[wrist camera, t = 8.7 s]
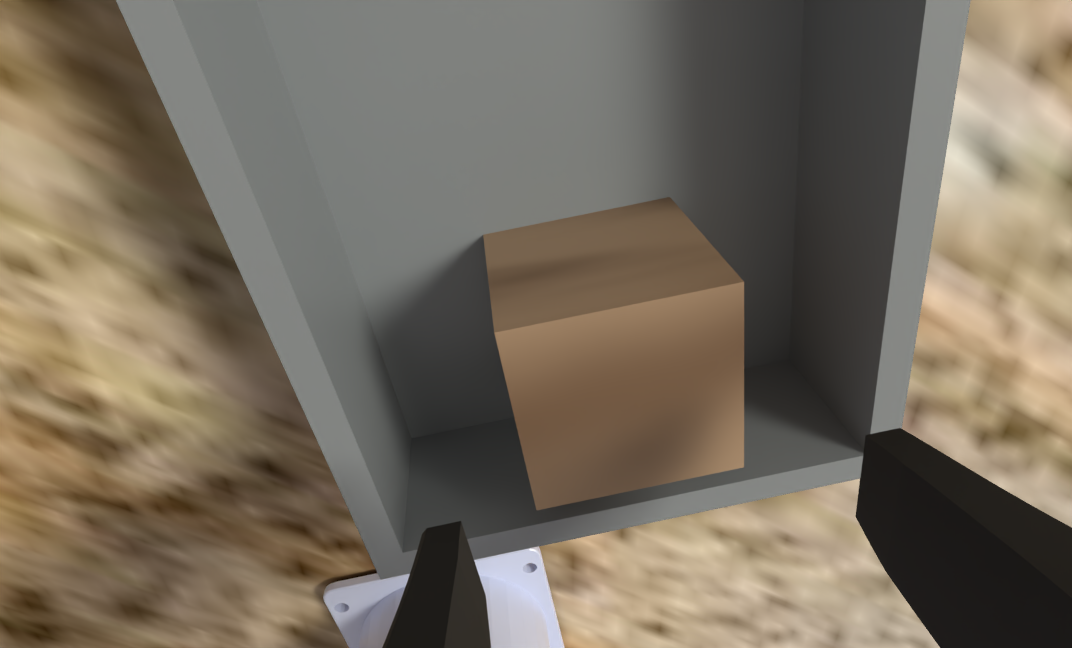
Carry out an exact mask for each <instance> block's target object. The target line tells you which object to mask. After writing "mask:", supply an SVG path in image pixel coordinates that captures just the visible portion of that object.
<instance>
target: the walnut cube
mask: <svg viewBox="0 0 1072 648" xmlns="http://www.w3.org/2000/svg"><path fill="white" fill-rule="evenodd" d="M483 238H484V247H485V256H486V264H487V273H488V282H489V291H490V300H491V308H492V317H493V326H494V334H495V338H496V342H497V346H498V350H499V355H500V359H501V363H502V367H503V372H504V376H505V380H506V384H507V388H508V393H509V397H510V401H511V405H512V409H513V414H514V418H515V422H516V426H517V430H518V435H519V439H520V443H521V447H522V452H523V456H524V460H525V464H526V468H527V473H528V477H529V481H530V485H531V489H532V494H533V498H534V502H535V506H536V510H541V509H546V508H551V507H556V506H561V505H565V504H570V503H575V502H580V501H585V500H589V499H594V498H599V497H604V496H609V495H613V494H618V493H623V492H628V491H633V490H637V489H642V488H647V487H652V486H657V485H661V484H666V483H671V482H676V481H681V480H685V479H690V478H695V477H700V476H705V475H709V474H714V473H719V472H724V471H729V470H733V469H738V468H743V467H744V281H743V280H742V279H741V278H740V276H739V275H738V274H737V273H736V272H735V271H734V270H733V268H732V267H731V266H730V265H729V264H728V263H727V262H726V260H725V259H724V258H723V257H722V256H721V255H720V254H719V252H718V251H717V250H716V249H715V248H714V247H713V246H712V244H711V243H710V242H709V241H708V240H707V239H706V238H705V236H704V235H703V234H702V233H701V232H700V231H699V230H698V228H697V227H696V226H695V225H694V224H693V223H692V222H691V220H690V219H689V218H688V217H687V216H686V215H685V214H684V212H683V211H682V210H681V209H680V208H679V207H678V206H677V204H676V203H675V202H674V201H673V200H672V199H671V198H670V197H667V198H662V199H657V200H652V201H647V202H642V203H638V204H633V205H628V206H623V207H618V208H613V209H608V210H603V211H598V212H593V213H588V214H583V215H578V216H573V217H568V218H563V219H558V220H554V221H549V222H544V223H539V224H534V225H529V226H524V227H519V228H514V229H509V230H504V231H499V232H494V233H489V234H484V235H483Z"/></svg>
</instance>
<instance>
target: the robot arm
mask: <svg viewBox="0 0 1072 648" xmlns="http://www.w3.org/2000/svg"><path fill="white" fill-rule="evenodd" d="M856 518H857V520H858V522H859V524H860V526H861V527H862V529H863V531H864V533H865V535H866V537H867V539H868V541H869V542H870V544H871V546H872V548H873V550H874V551H875V553H876V555H877V557H878V558H879V560H880V562H881V564H882V565H883V567H884V569H885V571H886V572H887V574H888V575H889V577H890V578H891V579H892V581H893V582H894V584H895V585H896V587H897V588H898V589H899V591H900V592H901V594H902V595H903V596H904V598H905V599H906V601H907V602H908V603H909V605H910V606H911V608H912V609H913V610H914V612H915V613H916V615H917V616H918V617H919V619H920V620H921V622H922V623H923V624H924V626H925V627H926V629H927V630H928V631H929V633H930V634H931V635H932V637H933V638H934V640H935V641H936V642H937V644H938V645H939V647H940V648H1072V528H1071V527H1069V526H1068V525H1066V524H1064V523H1062V522H1060V521H1058V520H1057V519H1055V518H1053V517H1051V516H1049V515H1047V514H1046V513H1044V512H1042V511H1040V510H1038V509H1037V508H1035V507H1033V506H1031V505H1030V504H1028V503H1026V502H1024V501H1023V500H1021V499H1019V498H1017V497H1016V496H1014V495H1012V494H1010V493H1009V492H1007V491H1005V490H1004V489H1002V488H1000V487H998V486H997V485H995V484H993V483H992V482H990V481H988V480H987V479H985V478H983V477H981V476H980V475H978V474H976V473H975V472H973V471H971V470H970V469H968V468H966V467H965V466H963V465H961V464H960V463H958V462H956V461H955V460H953V459H951V458H950V457H948V456H946V455H945V454H943V453H941V452H940V451H938V450H937V449H935V448H933V447H932V446H930V445H928V444H927V443H925V442H923V441H921V440H920V439H918V438H916V437H915V436H913V435H911V434H909V433H908V432H906V431H904V430H903V429H901V428H897V429H892V430H887V431H883V432H878V433H873V434H868V435H866V436H865V444H864V452H863V461H862V469H861V477H860V485H859V494H858V502H857V510H856ZM528 563H531V564H528ZM323 599H324V602H325V604H326V606H327V608H328V610H329V611H330V613H331V615H332V617H333V619H334V621H335V623H336V624H337V626H338V628H339V630H340V632H341V634H342V635H343V637H344V639H345V641H346V643H347V645H348V646H349V648H565V647H564V643H563V639H562V635H561V631H560V627H559V623H558V619H557V615H556V611H555V607H554V603H553V599H552V595H551V591H550V587H549V583H548V579H547V575H546V571H545V567H544V563H543V559H542V555H541V551H540V548H539V546H538V547H533V548H529V549H524V550H519V551H514V552H510V553H505V554H500V555H495V556H491V557H486V558H481V559H476V560H474V559H473V556H472V553H471V550H470V546H469V543H468V540H467V537H466V534H465V531H464V528H463V525H462V522H461V521H458V522H453V523H448V524H444V525H439V526H434V527H429V528H426V530H425V531H424V532H423V533H422V535H421V539H420V543H419V546H418V550H417V553H416V556H415V560H414V563H413V566H412V569H411V572H410V574H405V575H401V576H396V577H391V578H386V579H382V580H381V579H380V577H379V575H378V573H375V574H371V575H366V576H361V577H356V578H352V579H347V580H342V581H337V582H334V583H331V584H329V585H328V586H326V588H325V590H324V595H323Z"/></svg>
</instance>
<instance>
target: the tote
mask: <svg viewBox="0 0 1072 648" xmlns="http://www.w3.org/2000/svg"><path fill="white" fill-rule="evenodd" d="M116 2H117V4H118V6H119V9H120V11H121V13H122V15H123V17H124V19H125V22H126V24H127V26H128V28H129V30H130V33H131V35H132V37H133V39H134V41H135V44H136V46H137V48H138V50H139V52H140V54H141V57H142V59H143V61H144V63H145V65H146V68H147V70H148V72H149V74H150V76H151V79H152V81H153V83H154V85H155V87H156V89H157V92H158V94H159V96H160V98H161V100H162V103H163V105H164V107H165V109H166V111H167V114H168V116H169V118H170V120H171V122H172V124H173V127H174V129H175V131H176V133H177V135H178V138H179V140H180V142H181V144H182V146H183V149H184V151H185V153H186V155H187V157H188V159H189V162H190V164H191V166H192V168H193V170H194V173H195V175H196V177H197V179H198V181H199V183H200V186H201V188H202V190H203V192H204V194H205V197H206V199H207V201H208V203H209V205H210V208H211V210H212V212H213V214H214V216H215V218H216V221H217V223H218V225H219V227H220V229H221V232H222V234H223V236H224V238H225V240H226V243H227V245H228V247H229V249H230V251H231V253H232V256H233V258H234V260H235V262H236V264H237V267H238V269H239V271H240V273H241V275H242V278H243V280H244V282H245V284H246V286H247V288H248V291H249V293H250V295H251V297H252V299H253V302H254V304H255V306H256V308H257V310H258V313H259V315H260V317H261V319H262V321H263V323H264V326H265V328H266V330H267V332H268V334H269V337H270V339H271V341H272V343H273V345H274V348H275V350H276V352H277V354H278V356H279V358H280V361H281V363H282V365H283V367H284V369H285V372H286V374H287V376H288V378H289V380H290V383H291V385H292V387H293V389H294V391H295V393H296V396H297V398H298V400H299V402H300V404H301V407H302V409H303V411H304V413H305V415H306V418H307V420H308V422H309V424H310V426H311V428H312V431H313V433H314V435H315V437H316V439H317V442H318V444H319V446H320V448H321V450H322V453H323V455H324V457H325V459H326V461H327V463H328V466H329V468H330V470H331V472H332V474H333V477H334V479H335V481H336V483H337V485H338V488H339V490H340V492H341V494H342V496H343V498H344V501H345V503H346V505H347V507H348V509H349V512H350V514H351V516H352V518H353V520H354V522H355V525H356V527H357V529H358V531H359V533H360V536H361V538H362V540H363V542H364V544H365V547H366V549H367V551H368V553H369V555H370V557H371V560H372V562H373V564H374V566H375V568H376V571H377V573H378V575H379V577H380V579H381V580H382V579H386V578H391V577H396V576H401V575H405V574H410V572H411V569H412V566H413V563H414V560H415V556H416V553H417V550H418V546H419V543H420V539H421V535H422V533H423V532H424V531H425V530H426V528H429V527H434V526H439V525H444V524H448V523H453V522H458V521H461V522H462V525H463V528H464V531H465V534H466V537H467V540H468V543H469V546H470V550H471V553H472V556H473V559H474V560H476V559H481V558H486V557H491V556H495V555H500V554H505V553H510V552H514V551H519V550H524V549H529V548H533V547H538V546H543V545H547V544H552V543H557V542H562V541H566V540H571V539H576V538H581V537H585V536H590V535H595V534H600V533H604V532H609V531H614V530H618V529H623V528H628V527H633V526H637V525H642V524H647V523H652V522H656V521H661V520H666V519H671V518H675V517H680V516H685V515H689V514H694V513H699V512H704V511H708V510H713V509H718V508H723V507H727V506H732V505H737V504H742V503H746V502H751V501H756V500H760V499H765V498H770V497H775V496H779V495H784V494H789V493H794V492H798V491H803V490H808V489H813V488H817V487H822V486H827V485H831V484H836V483H841V482H846V481H850V480H855V479H860V477H861V469H862V461H863V452H864V444H865V436H866V435H868V434H873V433H878V432H883V431H887V430H892V429H897V428H901V429H902V423H903V417H904V410H905V404H906V398H907V392H908V385H909V379H910V373H911V367H912V361H913V354H914V348H915V342H916V336H917V330H918V323H919V317H920V311H921V305H922V298H923V292H924V286H925V280H926V274H927V267H928V261H929V255H930V249H931V243H932V236H933V230H934V224H935V218H936V212H937V205H938V199H939V193H940V187H941V180H942V174H943V168H944V162H945V156H946V149H947V143H948V137H949V131H950V125H951V118H952V112H953V106H954V100H955V94H956V87H957V81H958V75H959V69H960V62H961V56H962V50H963V44H964V38H965V31H966V25H967V19H968V13H969V7H970V0H116ZM667 197H670V198H671V199H672V200H673V201H674V202H675V203H676V204H677V206H678V207H679V208H680V209H681V210H682V211H683V212H684V214H685V215H686V216H687V217H688V218H689V219H690V220H691V222H692V223H693V224H694V225H695V226H696V227H697V228H698V230H699V231H700V232H701V233H702V234H703V235H704V236H705V238H706V239H707V240H708V241H709V242H710V243H711V244H712V246H713V247H714V248H715V249H716V250H717V251H718V252H719V254H720V255H721V256H722V257H723V258H724V259H725V260H726V262H727V263H728V264H729V265H730V266H731V267H732V268H733V270H734V271H735V272H736V273H737V274H738V275H739V276H740V278H741V279H742V280H743V281H744V467H743V468H738V469H733V470H729V471H724V472H719V473H714V474H709V475H705V476H700V477H695V478H690V479H685V480H681V481H676V482H671V483H666V484H661V485H657V486H652V487H647V488H642V489H637V490H633V491H628V492H623V493H618V494H613V495H609V496H604V497H599V498H594V499H589V500H585V501H580V502H575V503H570V504H565V505H561V506H556V507H551V508H546V509H541V510H536V506H535V502H534V498H533V494H532V489H531V485H530V481H529V477H528V473H527V468H526V464H525V460H524V456H523V452H522V447H521V443H520V439H519V435H518V430H517V426H516V422H515V418H514V414H513V409H512V405H511V401H510V397H509V393H508V388H507V384H506V380H505V376H504V372H503V367H502V363H501V359H500V355H499V350H498V346H497V342H496V338H495V334H494V326H493V317H492V308H491V300H490V291H489V282H488V273H487V264H486V256H485V247H484V238H483V235H484V234H489V233H494V232H499V231H504V230H509V229H514V228H519V227H524V226H529V225H534V224H539V223H544V222H549V221H554V220H558V219H563V218H568V217H573V216H578V215H583V214H588V213H593V212H598V211H603V210H608V209H613V208H618V207H623V206H628V205H633V204H638V203H642V202H647V201H652V200H657V199H662V198H667Z"/></svg>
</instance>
